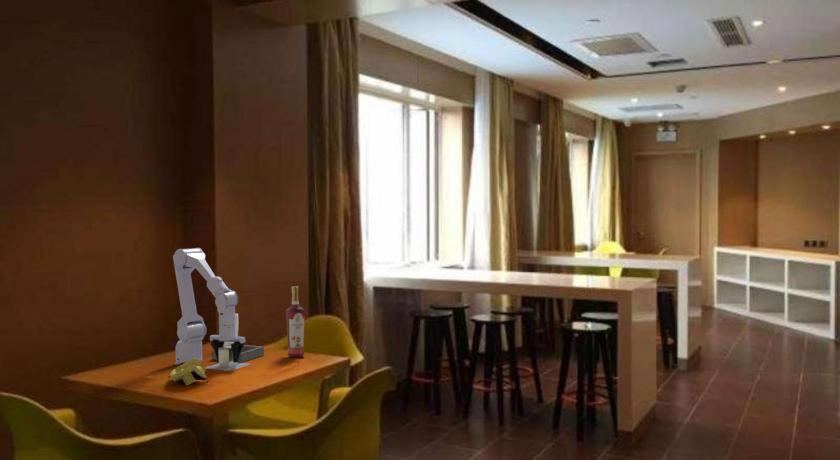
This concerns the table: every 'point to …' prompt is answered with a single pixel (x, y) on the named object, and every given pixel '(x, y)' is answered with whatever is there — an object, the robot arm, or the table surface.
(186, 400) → the table surface
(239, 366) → the base
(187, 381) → the plastic component
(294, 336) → the liquor
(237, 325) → the drinking glass
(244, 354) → the bin
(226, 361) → the light grey block
